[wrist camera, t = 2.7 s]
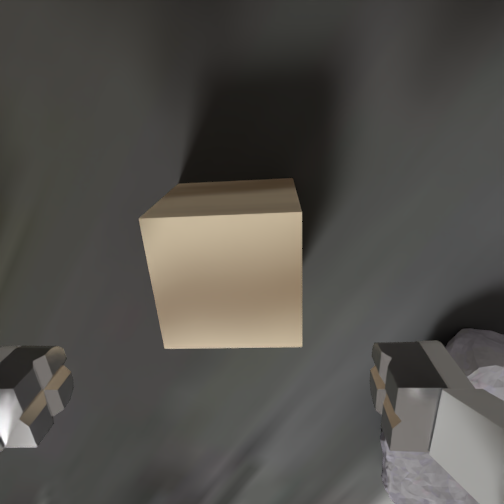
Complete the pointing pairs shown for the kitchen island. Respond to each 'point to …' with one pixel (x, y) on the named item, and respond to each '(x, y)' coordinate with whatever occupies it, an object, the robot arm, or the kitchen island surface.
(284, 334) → the maple block
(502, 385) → the stone block
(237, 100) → the kitchen island surface
